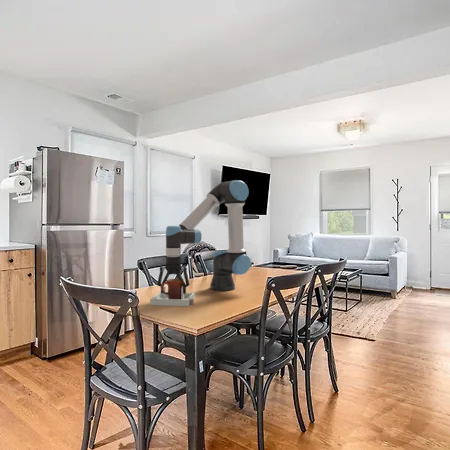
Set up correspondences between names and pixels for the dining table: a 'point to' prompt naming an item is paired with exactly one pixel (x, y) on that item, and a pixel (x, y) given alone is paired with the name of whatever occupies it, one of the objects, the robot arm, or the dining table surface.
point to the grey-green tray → (172, 300)
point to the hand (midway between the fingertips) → (173, 299)
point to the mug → (173, 288)
